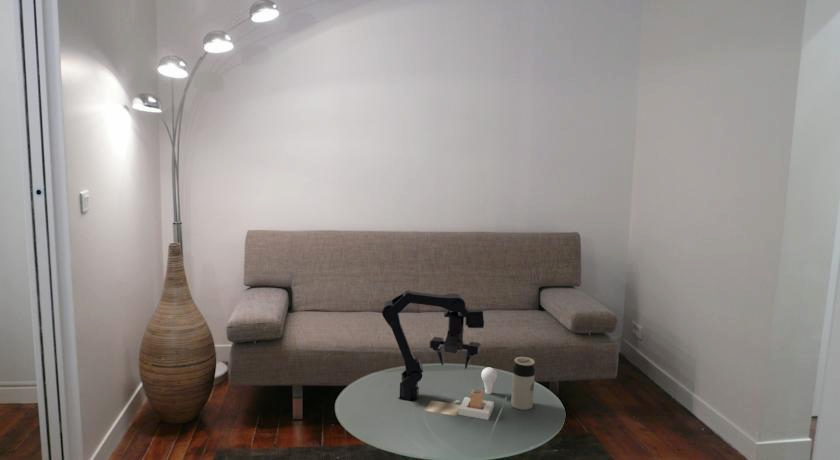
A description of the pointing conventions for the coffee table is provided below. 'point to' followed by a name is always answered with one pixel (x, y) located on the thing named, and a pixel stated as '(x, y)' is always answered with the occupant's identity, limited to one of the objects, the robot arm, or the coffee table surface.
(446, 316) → the robot arm
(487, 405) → the socket block
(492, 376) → the lightbulb
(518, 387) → the travel mug
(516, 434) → the coffee table surface
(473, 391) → the plug
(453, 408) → the tray slab
